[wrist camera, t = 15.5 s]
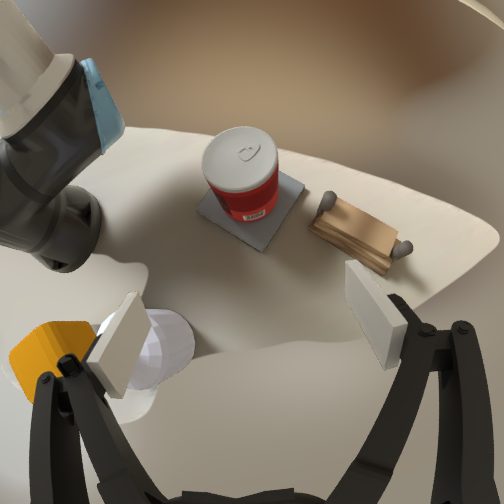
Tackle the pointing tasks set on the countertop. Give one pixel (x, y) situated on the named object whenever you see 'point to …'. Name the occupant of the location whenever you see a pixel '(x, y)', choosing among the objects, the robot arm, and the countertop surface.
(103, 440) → the robot arm
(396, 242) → the offcut rack
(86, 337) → the soap bottle
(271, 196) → the canned food
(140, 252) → the countertop surface
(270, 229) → the slate mat
